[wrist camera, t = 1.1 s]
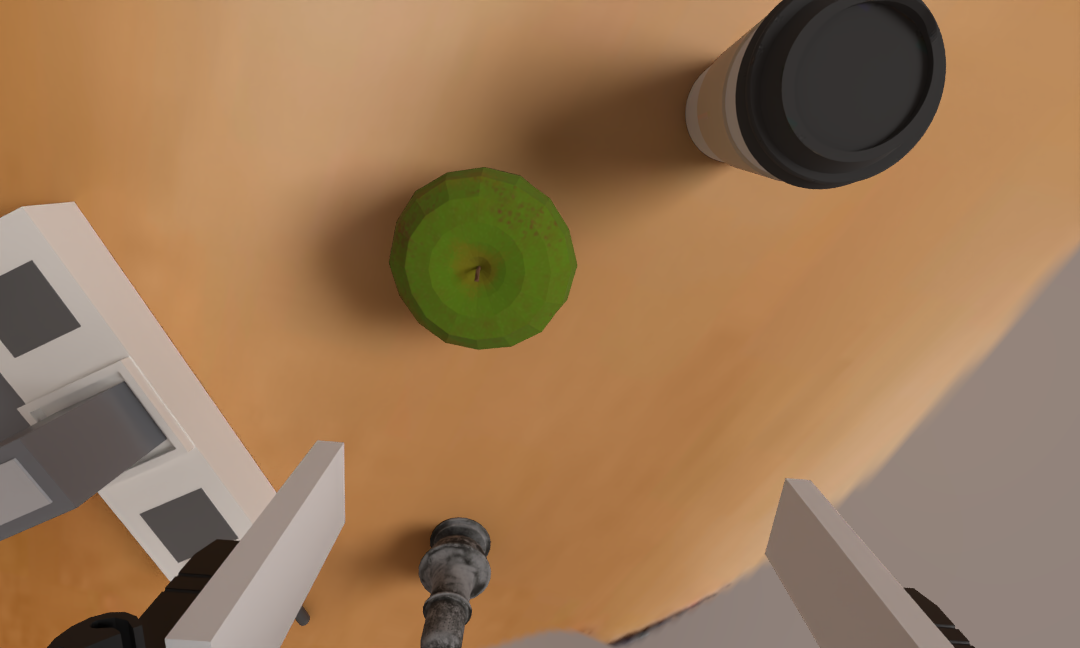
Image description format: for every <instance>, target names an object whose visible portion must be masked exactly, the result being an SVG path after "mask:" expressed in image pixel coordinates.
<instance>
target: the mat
mask: <svg viewBox="0 0 1080 648" xmlns="http://www.w3.org/2000/svg"><path fill="white" fill-rule="evenodd" d="M23 405H25V402H24V401H23V400H22V399H21V398H20V396H19V395H18V394H17V393H16V391H15V390H14V389H13V388H12V387H11V385H10V384H9V383H8V382H7V380H6V379H5V378H4V377H3V375H2V374H1V373H0V442H1V441H3V440H5V439H7V438H9V437H11V436H13V435H15V434H17V433H18V432H20V431H22V430H24V429H26V428H28V427H30V424H29V423H28V422H27V421H26V420H25V418H24V417H23V416H22V415H21V414H20V412H19V411H18V410H17V408H19V407H21V406H23Z"/></svg>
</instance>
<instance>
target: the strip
mask: <svg viewBox="0 0 1080 648" xmlns="http://www.w3.org/2000/svg"><path fill="white" fill-rule="evenodd" d="M0 373H1V374H2V375H3V377H4V378H5V379H6V380H7V382H8V383H9V384H10V385H11V387H12V388H13V389H14V390H15V391H16V393H17V394H18V395H19V396H20V398H21V399H22V400H23V401H24V402H25V405H23V406H21V407H19V408H17V410H18V411H19V412H20V414H21V415H22V416H23V417H24V418H25V420H26V421H27V422H28V423H29V424H30V426H32V425H33V424H35V423H37V422H39V421H41V420H43V419H45V418H47V417H49V416H50V415H52V414H54V413H56V412H58V411H61V410H63V409H65V408H67V407H69V406H71V405H74V404H76V403H78V402H80V401H82V400H85V399H87V398H89V397H91V396H93V395H95V394H98V393H100V392H102V391H104V390H106V389H109V388H111V387H113V386H115V385H117V384H119V383H122V382H124V381H125V382H126V384H127V385H128V386H129V388H130V389H131V391H132V392H133V393H134V395H135V396H136V397H137V399H138V400H139V401H140V403H141V404H142V405H143V407H144V408H145V409H146V411H147V412H148V413H149V415H150V416H151V418H152V419H153V420H154V422H155V423H156V424H157V426H158V427H159V428H160V430H161V431H162V432H163V434H164V435H165V436H166V438H167V439H166V440H165V441H164V442H162V443H161V444H160V445H158V446H157V447H156V448H155V449H153V450H152V451H151V452H149V453H148V454H147V455H145V456H144V457H143V458H141V459H140V460H139V461H138V462H136V463H135V464H134V465H132V466H131V467H130V468H128V469H127V470H126V471H124V472H123V473H122V474H120V475H119V476H118V477H117V478H115V479H114V480H113V481H111V482H110V483H109V484H107V485H106V486H105V487H103V488H102V489H101V490H100V491H98V493H99V495H100V496H101V497H102V498H103V500H104V501H105V502H106V503H107V504H108V506H109V507H110V508H111V509H112V511H113V512H114V513H115V514H116V515H117V517H118V518H119V519H120V520H121V522H122V523H123V524H124V525H125V527H126V528H127V529H128V530H129V531H130V533H131V534H132V535H133V536H134V538H135V539H136V540H137V541H138V543H139V544H140V545H141V546H142V547H143V549H144V550H145V551H146V552H147V554H148V555H149V556H150V557H151V558H152V560H153V561H154V562H155V563H156V565H157V566H158V567H159V568H160V570H161V571H162V572H163V573H164V574H165V576H166V577H167V578H168V579H169V581H170V582H171V581H172V580H173V578H174V577H175V576H178V573H179V571H180V570H181V569H182V568H183V567H184V566H185V564H186V563H187V562H188V561H189V560H190V559H191V557H192V556H193V555H194V554H195V553H197V552H198V551H200V550H201V549H203V548H204V547H206V546H207V545H209V544H210V543H212V542H213V541H215V540H216V539H222V540H236V541H240V540H241V539H242V538H243V536H244V535H245V534H246V532H247V531H248V530H249V529H250V527H251V526H252V525H253V523H254V522H255V521H256V519H257V518H258V517H259V516H260V514H261V513H262V512H263V510H264V509H265V508H266V506H267V505H268V504H269V503H270V501H271V500H272V499H273V497H274V496H275V495H276V491H275V490H274V488H273V487H272V486H271V484H270V483H269V481H268V480H267V478H266V477H265V475H264V474H263V473H262V471H261V470H260V468H259V467H258V465H257V464H256V463H255V461H254V460H253V458H252V457H251V455H250V454H249V452H248V451H247V450H246V448H245V447H244V445H243V444H242V442H241V441H240V439H239V438H238V437H237V435H236V434H235V432H234V431H233V429H232V428H231V427H230V425H229V424H228V422H227V421H226V419H225V418H224V416H223V415H222V414H221V412H220V411H219V409H218V408H217V406H216V405H215V404H214V402H213V401H212V399H211V398H210V396H209V395H208V393H207V392H206V391H205V389H204V388H203V386H202V385H201V383H200V382H199V380H198V379H197V378H196V376H195V375H194V373H193V372H192V370H191V369H190V368H189V366H188V365H187V363H186V362H185V360H184V359H183V357H182V356H181V355H180V353H179V352H178V350H177V349H176V347H175V346H174V345H173V343H172V342H171V340H170V339H169V337H168V336H167V334H166V333H165V332H164V330H163V329H162V327H161V326H160V324H159V323H158V322H157V320H156V319H155V317H154V316H153V314H152V313H151V311H150V310H149V309H148V307H147V306H146V304H145V303H144V301H143V300H142V298H141V297H140V296H139V294H138V293H137V291H136V290H135V288H134V287H133V286H132V284H131V283H130V281H129V280H128V278H127V277H126V275H125V274H124V273H123V271H122V270H121V268H120V267H119V265H118V264H117V263H116V261H115V260H114V258H113V257H112V255H111V254H110V252H109V251H108V250H107V248H106V247H105V245H104V244H103V242H102V241H101V239H100V238H99V237H98V235H97V234H96V232H95V231H94V229H93V228H92V227H91V225H90V224H89V222H88V221H87V219H86V218H85V216H84V215H83V214H82V212H81V211H80V209H79V208H78V206H77V205H76V204H75V202H66V203H55V204H44V205H34V206H23V207H20V208H18V209H16V210H15V211H13V212H11V213H9V214H7V215H5V216H3V217H1V218H0ZM295 619H296V621H297V622H298V623H299V625H302V626H304V625H306V624H307V623H308V622H309V620H310V616H309V614H308V613H307V612H306V610H305V609H304V608H303V606H301V608H300V610H299V612H298V614H297V616H296V618H295Z"/></svg>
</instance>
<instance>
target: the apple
mask: <svg viewBox="0 0 1080 648" xmlns="http://www.w3.org/2000/svg"><path fill="white" fill-rule="evenodd" d="M389 264H390V268H391V271H392V274H393V277H394V280H395V283H396V286H397V289H398V292H399V295H400V297H401V298H402V300H403V301H404V303H405V304H406V306H407V307H408V308H409V310H410V311H411V313H412V314H413V316H414V317H415V318H416V320H417V321H418V323H419V324H421V325H422V326H424V327H425V328H426V329H428V330H429V331H430V332H432V333H433V334H434V335H436V336H437V337H439V338H440V339H441V340H443V341H444V342H445V343H450V344H454V345H459V346H464V347H468V348H473V349H478V350H479V349H490V348H500V347H511V346H513V345H515V344H517V343H519V342H522V341H524V340H526V339H528V338H530V337H532V336H534V335H536V334H538V333H540V332H542V331H543V329H544V328H545V327H546V325H547V324H548V323H549V321H550V320H551V319H552V317H553V316H554V315H555V313H556V312H557V311H558V310H559V309H560V307H561V306H562V305H563V304H564V303H565V302H566V300H567V298H568V295H569V292H570V288H571V285H572V281H573V278H574V275H575V271H576V268H577V262H576V257H575V253H574V249H573V244H572V240H571V236H570V231H569V229H568V227H567V225H566V224H565V222H564V220H563V219H562V217H561V216H560V214H559V212H558V211H557V209H556V208H555V206H554V204H553V203H552V201H551V200H550V198H549V197H547V196H546V195H544V194H543V193H542V192H540V191H539V190H538V189H536V188H535V187H533V186H532V185H531V184H530V183H529V182H527V181H526V180H525V179H524V178H523V177H522V176H520V175H516V174H511V173H507V172H503V171H499V170H495V169H491V168H486V167H482V168H475V169H469V170H462V171H455V172H448V173H446V174H444V175H443V176H441V177H439V178H437V179H436V180H434V181H432V182H431V183H429V184H427V185H425V186H424V187H422V188H420V189H419V190H417V191H416V192H415V193H414V195H413V196H412V198H411V200H410V201H409V203H408V204H407V206H406V208H405V209H404V211H403V212H402V214H401V215H400V217H399V219H398V220H397V222H396V227H395V233H394V238H393V243H392V249H391V254H390V259H389Z"/></svg>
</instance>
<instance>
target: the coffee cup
mask: <svg viewBox="0 0 1080 648" xmlns="http://www.w3.org/2000/svg"><path fill="white" fill-rule="evenodd" d="M945 74H946V57H945V48H944V43H943V39H942V35H941V32H940V30H939V27H938V25H937V22H936V20H935V18H934V17H933V15H932V13H931V12H930V10H929V9H928V7H927V6H926V5H925V4H924V2H923V1H922V0H783V1H781V2H780V3H779V4H778V5H777V6H776V7H775V8H774V9H773V10H772V11H771V12H770V13H769V14H768V15H767V16H766V17H765V18H764V19H763V20H761V21H760V22H759V23H758V24H757V25H755V26H754V27H753V28H752V29H751V30H749V31H748V32H747V33H746V34H745V35H744V36H742V37H741V38H740V39H739V40H738V41H736V42H735V43H734V44H733V45H732V46H730V47H729V48H728V49H727V50H726V51H725V52H723V53H722V54H721V55H720V56H719V57H718V58H717V59H716V60H715V62H714V63H713V64H712V65H711V66H710V67H709V68H707V69H706V70H705V71H704V72H703V73H702V74H701V75H700V76H699V77H698V79H697V80H696V81H695V83H694V85H693V87H692V88H691V91H690V93H689V96H688V99H687V103H686V112H685V116H686V125H687V129H688V132H689V135H690V137H691V139H692V140H693V142H694V144H695V145H696V146H697V147H698V148H699V150H701V151H702V152H703V153H704V154H705V155H707V156H708V157H710V158H712V159H715V160H717V161H721V162H725V163H727V164H729V165H731V166H733V167H736V168H739V169H742V170H745V171H749V172H752V173H755V174H758V175H761V176H765V177H768V178H771V179H774V180H778V181H784V182H786V183H788V184H791V185H794V186H797V187H802V188H808V189H830V188H836V187H841V186H845V185H848V184H851V183H854V182H857V181H861V180H864V179H867V178H870V177H872V176H874V175H877V174H879V173H881V172H883V171H884V170H886V169H888V168H889V167H891V166H892V165H894V164H895V163H897V162H898V161H899V160H900V159H902V158H903V157H904V156H905V155H906V154H907V153H908V152H909V151H910V150H911V149H912V148H913V147H914V146H915V145H916V144H917V143H918V141H919V140H920V139H921V137H922V136H923V135H924V133H925V132H926V130H927V129H928V127H929V125H930V123H931V122H932V120H933V118H934V116H935V113H936V111H937V109H938V106H939V103H940V100H941V97H942V93H943V88H944V83H945Z"/></svg>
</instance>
